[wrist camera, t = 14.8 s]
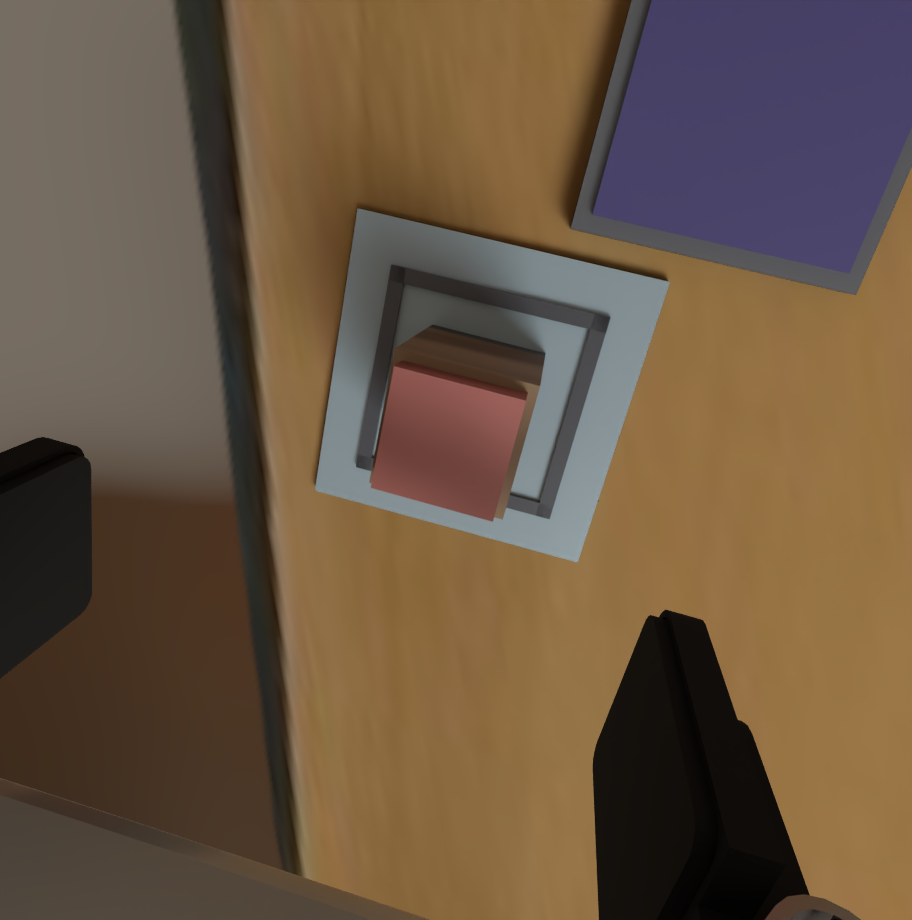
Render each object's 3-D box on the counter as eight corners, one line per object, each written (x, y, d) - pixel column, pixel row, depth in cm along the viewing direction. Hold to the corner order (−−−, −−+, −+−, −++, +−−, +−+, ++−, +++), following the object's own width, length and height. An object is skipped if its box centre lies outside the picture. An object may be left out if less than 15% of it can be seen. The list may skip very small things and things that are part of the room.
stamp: (432, 324, 25) (385, 353, 19) (545, 353, 25) (538, 393, 18) (410, 431, 27) (360, 493, 20) (516, 460, 26) (499, 532, 20)
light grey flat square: (360, 208, 24) (356, 207, 24) (668, 281, 23) (670, 282, 23) (317, 487, 29) (313, 491, 28) (577, 559, 28) (577, 564, 27)
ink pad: (658, -102, 20) (664, -125, 19) (986, -41, 19) (1014, -60, 18) (570, 228, 23) (570, 228, 22) (843, 292, 23) (859, 295, 21)
